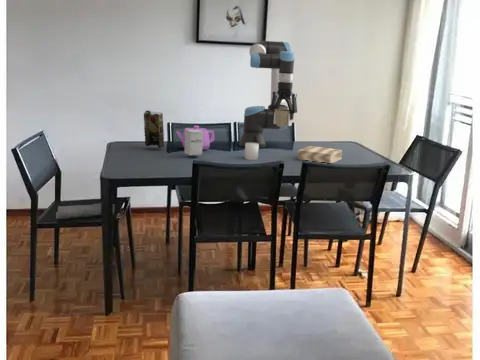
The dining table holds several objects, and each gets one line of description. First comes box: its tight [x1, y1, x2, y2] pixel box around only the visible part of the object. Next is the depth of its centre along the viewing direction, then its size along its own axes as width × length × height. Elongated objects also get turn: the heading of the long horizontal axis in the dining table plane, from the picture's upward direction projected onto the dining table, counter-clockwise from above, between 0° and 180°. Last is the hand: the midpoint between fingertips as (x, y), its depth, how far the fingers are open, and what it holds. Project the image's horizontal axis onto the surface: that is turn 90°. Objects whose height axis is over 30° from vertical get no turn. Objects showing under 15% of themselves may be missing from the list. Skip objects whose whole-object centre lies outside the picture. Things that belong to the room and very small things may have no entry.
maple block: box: [297, 145, 343, 164], centre depth 305 cm, size 18×18×5 cm
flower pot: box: [275, 108, 290, 128], centre depth 303 cm, size 9×9×9 cm
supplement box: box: [184, 130, 203, 156], centre depth 300 cm, size 7×7×13 cm
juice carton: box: [143, 110, 165, 149], centre depth 314 cm, size 20×10×6 cm
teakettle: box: [175, 125, 215, 150], centre depth 320 cm, size 17×17×12 cm
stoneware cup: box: [244, 142, 260, 161], centre depth 296 cm, size 7×7×8 cm
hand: (282, 124), depth 304 cm, fingers closed on flower pot, 8 cm apart
